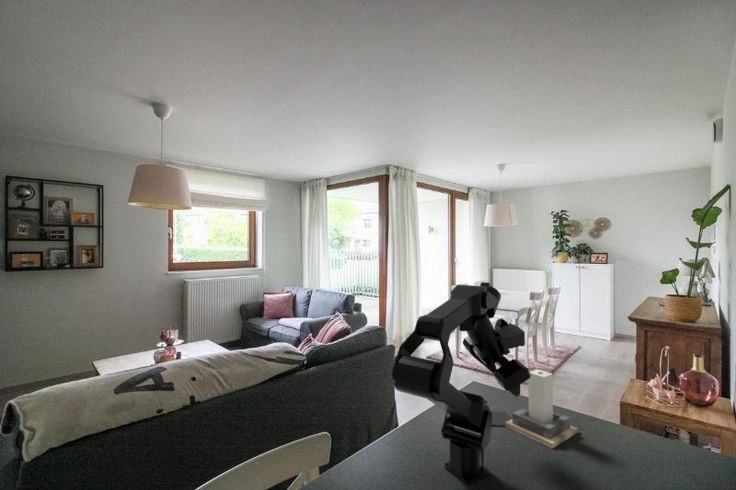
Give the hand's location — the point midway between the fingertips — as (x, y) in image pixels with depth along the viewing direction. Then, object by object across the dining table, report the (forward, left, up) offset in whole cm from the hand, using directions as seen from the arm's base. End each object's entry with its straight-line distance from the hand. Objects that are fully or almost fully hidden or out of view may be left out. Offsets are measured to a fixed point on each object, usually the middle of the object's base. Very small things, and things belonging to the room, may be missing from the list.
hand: (505, 383), depth 83 cm
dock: (+11, -1, -13) cm, 18 cm away
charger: (+11, -1, -12) cm, 17 cm away
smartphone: (+3, +10, -14) cm, 17 cm away
